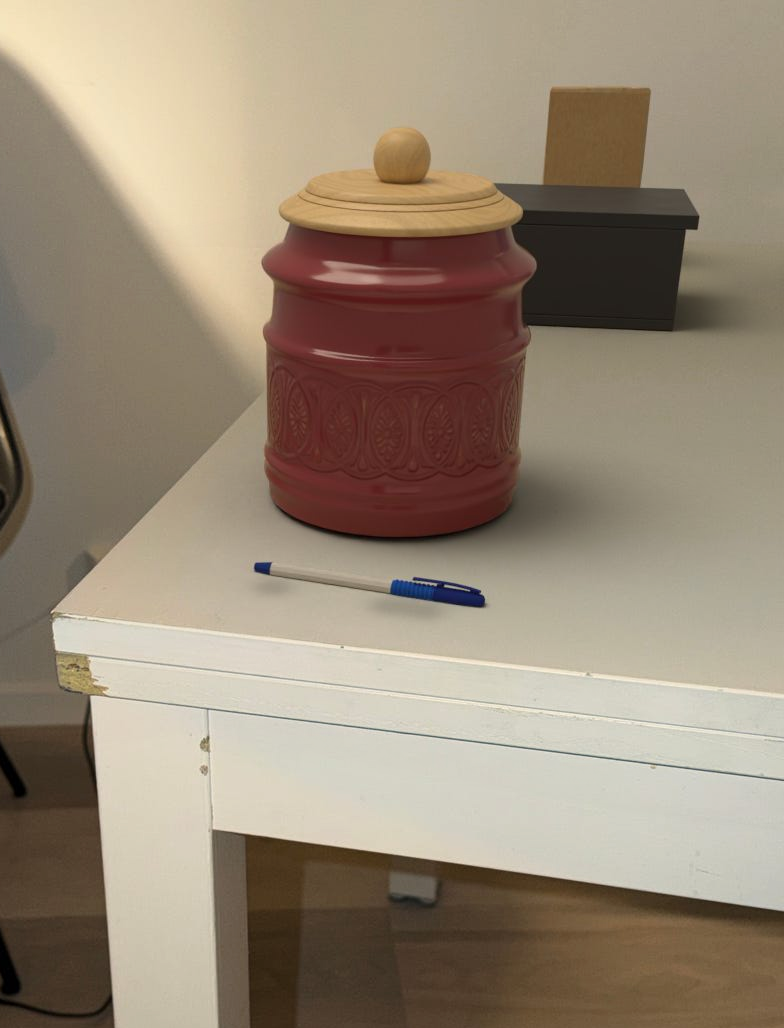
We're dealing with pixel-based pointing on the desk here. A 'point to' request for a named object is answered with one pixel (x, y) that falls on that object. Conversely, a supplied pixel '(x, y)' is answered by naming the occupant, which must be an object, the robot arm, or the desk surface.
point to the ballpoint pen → (379, 584)
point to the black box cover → (603, 206)
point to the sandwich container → (596, 136)
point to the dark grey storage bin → (602, 276)
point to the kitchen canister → (396, 348)
